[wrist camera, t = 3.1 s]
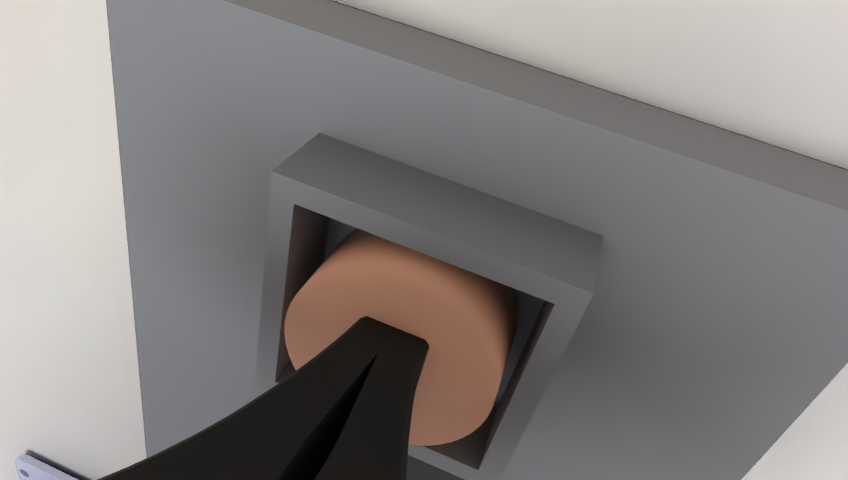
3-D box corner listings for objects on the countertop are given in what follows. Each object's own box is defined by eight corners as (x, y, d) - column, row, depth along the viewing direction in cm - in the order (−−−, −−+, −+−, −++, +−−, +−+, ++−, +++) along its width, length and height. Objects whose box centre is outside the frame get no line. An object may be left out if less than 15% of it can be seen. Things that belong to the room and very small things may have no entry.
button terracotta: (485, 406, 14) (462, 474, 13) (318, 336, 15) (276, 393, 14) (546, 263, 12) (527, 327, 10) (341, 186, 13) (294, 235, 11)
